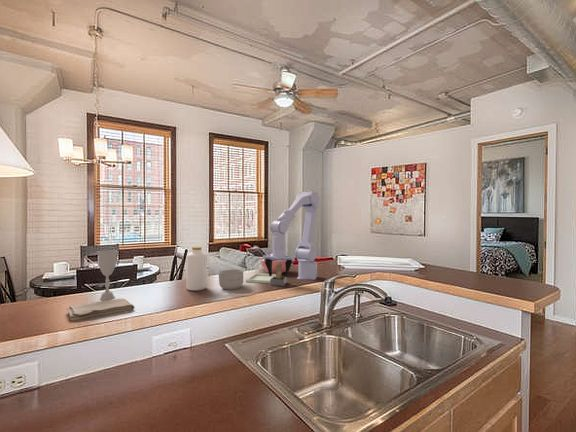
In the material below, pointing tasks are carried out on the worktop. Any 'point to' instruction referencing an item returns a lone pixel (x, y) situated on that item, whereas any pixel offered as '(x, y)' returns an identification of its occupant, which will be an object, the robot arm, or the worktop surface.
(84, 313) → the washcloth
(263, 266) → the cell model
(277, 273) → the dowel
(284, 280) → the grey square box
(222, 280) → the teacup
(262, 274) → the tray
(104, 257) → the chalice
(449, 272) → the worktop surface
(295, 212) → the robot arm
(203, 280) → the potion bottle
